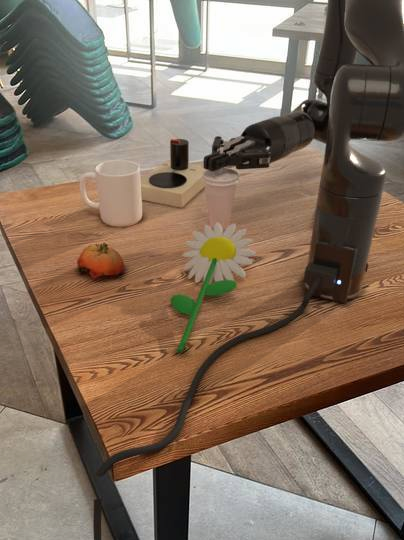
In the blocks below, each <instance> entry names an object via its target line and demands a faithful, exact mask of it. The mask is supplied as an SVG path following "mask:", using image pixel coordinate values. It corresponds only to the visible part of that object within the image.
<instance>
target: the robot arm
mask: <svg viewBox="0 0 404 540" xmlns="http://www.w3.org/2000/svg"><path fill="white" fill-rule="evenodd" d="M358 54H359V55H360V56H361V57H362V58H363V59H365V61H367V63H368V64H359V63H356V61H357V58H358ZM316 60H317V61H316V66H315V70H314V74H313V81H312V82H313V85H314V87H315V88H316V89H317V90H318V91H320V92H321V93H322V94H323V95H324V96H325V99H326V102H324V101H323V100H319V99H316V98H309V99H305V100H303V101H301V103H299V104H298V106H296V107H295V108H294V109H293V110H292V111H291V112H289V113H285V114H283V115H279V116H273V117H270V118H267V119H264V120H260V121H257V122H255V123H252V124H249V125H248V126H246V127H245V129H244V130H243V131H242V132H241V134H240V135H239V136H236V137H232V138H230V139H229V140H224V139H223V137H222V136H219V135H216V136H215V137H214V139H213V141H212V145H211V153H210V154H207V155H204V157H203V165H202V166H203V167H204V169H206V170H209V171H212V172H214V171H216V170H219V169H221V168H228V169H232V168H234V167H235V169H236V170H239V171H240V170H254V169H269V168H270V164H272V163H275V162H277V161H280V160H282V159H284V158H287V157H289V155H291V154H293V153H296V152H298V151H301V150H303V149H304V148H305V149H306V147H308V146H309V145H310V144H311V143H312V142H313V140H315V141H317V142H319V143H322V144H325V146H324V147H325V149H324V155H323V162H322V167H321V173H320V180H319V185H318V192H317V199H316V205H315V211H314V217H313V218H314V219H313V224H312V232H311V238H310V244H309V251H308V259H307V265H306V267H305V269H304V275H303V284H304V287H305V288H306V290H307V292H306V294H305V295H304V297H303V299H302V302H301V304H300V305H299V306H298V307H297V308H296V310H295V311H293V312H292V313H291V314H289V316H287V317H285V318H283V319H280V320H279V321H277V322H274V323H272V324H270V325H268V326H264V327H262V328H258V329H255V330H251V331H248V332H244V333H241V334H239V335H237V336H235V337H233V338H231V339H230V340H228V341H226V342H225V343H223V344H222V345H220V346H218V348H216V349H215V350H213V352H212V353H211V354H210V355H208V356H207V358H206V359H205V360H204V362H203V363H202V364H201V365H200V366H199V368H198V369H197V371H196V373H195V375H194V377H193V379H192V382H191V383H190V385H189V389H188V391H187V393H186V394H185V395H186V396H185V397H184V399H183V401H182V404H181V407H180V409H179V412H178V416H177V418H176V422H175V424H174V426H173V428H172V429H171V431H170V432H168V434H167V435H165V437H163V438H162V439H161V440H159V441H158V442H155V443H152V444H147V445H143V446H136V447H132V448H127V449H124V450H121V451H118V452H116V453H114V454H112V455H111V456H109V457H108V458H107V459H106V460H105V461H104V462H103V463H102V464H101V465H100V466H99V468H98V470H97V471H96V474H95V475H96V476H97V477H99V478H100V477H103V476H105V475H106V473H107V472H108V471H109V469H110V468H112V467H113V466H114V465H115V464H117V463H118V462H120V461H122V460H125V459H128V458H132V457H137V456H142V455H147V454H148V455H149V454H152V453H156V452H158V451H160V450H162V449H164V448H166V447H167V446H169V445H170V444H171V443H172V442H174V440H175V439H176V438H177V437H178V435H179V434H180V432H181V430H182V428H183V427H184V423H185V420H186V418H187V415H188V412H189V409H190V405H191V403H192V401H193V399H194V396H195V394H196V392H197V389H198V387H199V384H200V382H201V379H202V378H203V376H204V374H205V372H206V371H207V370H208V368H209V367H210V366H211V365H212V364H213V363H214V362H215V361H216V360H217V358H218V357H219V356H220V355H223V353H225V352H226V351H228V350H229V349H231V348H232V347H234V346H236V345H237V344H240V343H241V342H243V341H246V340H249V339H253V338H256V337H260V336H263V335H265V334H269V333H271V332H273V331H275V330H277V329H280V328H283V327H284V326H286V325H288V324H290V323H291V322H293V321H294V320H295V319H297V318H298V317H299V316H300V315H301V314H302V313H303V312H304V311H305V309H306V308H307V307H308V305H309V303H310V300H311V298H312V297H315V298H320V299H324V300H328V301H332V302H335V303H336V302H337V303H341V304H346V303H347V301H348V300H353V299H355V298H357V297H358V296H359V295H361V293H362V290H363V282H364V280H365V279H364V278H365V275H366V274H368V269H369V263H368V260H369V256H370V252H371V251H370V250H371V246H372V242H373V237H374V232H375V229H376V223H377V220H378V215H379V210H380V206H381V203H382V197H383V193H384V189H385V185H386V180H387V171H386V169H385V167H384V166H383V165H382V164H381V163H380V162H378V161H377V160H376V159H375V160H374V159H373V158H370V157H369V156H366V155H365V154H362V153H360V152H359V151H358V150H356V149H355V148H353V147H352V145H350V141H351V140H352V141H353V140H354V141H370V142H393V141H397V140H398V141H399V140H400V139H402V138H403V136H404V0H327V4H326V14H325V22H324V27H323V34H322V39H321V44H320V49H319V52H318V57H317V59H316ZM221 147H223V153H222V154H220V148H221ZM365 273H366V274H365ZM102 511H103V499H102V498H96V499H93V520H92V521H93V522H92V523H93V525H92V526H93V527H92V528H93V540H102Z"/></svg>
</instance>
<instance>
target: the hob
mask: <svg viewBox="0 0 404 540" xmlns="http://www.w3.org/2000/svg"><path fill="white" fill-rule="evenodd" d="M203 166H204V165H198V164H193V163H189V167H188V169H186V170H174V169H172V168H171V163H170V159H166V160H165V161H164V162H162V163H161V164H159V165H158V166H157V167H155V168H154V169H152V171H150V172H148V173H147V174H146V175H145V176H143V177H142V178H140V179H141V198H142V201H146V202H151V203H157V204H161V205H166V206H170V207H176V208H181V209H182V208H183V207H184V206H186V204H188V203H189V202H190V201H191V200H192V199H193V198H194V197H195V196H196V195H197V194H198V193H199V192H201V191H202V190H203V189H205V183H204V181H203V180H202V178H203V172H204V171H206V169H204V167H203ZM163 172H173V173H178V174H182V175H184V176H185V177H186V178H187V182H186V183H185V184H184V185H182V186H180V187H176V188H160V187H156V186H153V185H151V184H150V183H149V178H150V177H151V176H152V175H154V174H157V173H163Z"/></svg>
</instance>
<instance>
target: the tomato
mask: <svg viewBox="0 0 404 540" xmlns="http://www.w3.org/2000/svg"><path fill="white" fill-rule="evenodd" d="M76 264H77V269H78V271H79V273H80V274H81V272H82V271H81V270H82V269H83V268H87V269H89V275H90V277H91V278H92V279H95V278H98V277H100V276H113V275H119V274H124V273H125V262H124V259H123V258H122V256H121V254H120V252H118V251H117V250H115V249H114V248H112V247H109V244H108V243H106V242H103V243H96V244H90V245H88V246H86V247H84V249H83V250H82V251H81V253H80V254H79V257H78V258H77V260H76ZM86 272H87V270H85V273H86Z"/></svg>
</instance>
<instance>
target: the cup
mask: <svg viewBox="0 0 404 540" xmlns="http://www.w3.org/2000/svg"><path fill="white" fill-rule="evenodd" d="M94 170H95V172H93V171H87V172H85V173H83V174H82V175H81V177H80V179H79V194H80V197H81V200H82V202H83V203H84V205H86V206H87V207H89V208H91V209H94V210H99V216H100V219H101V221H102V222H103V223H104V224H105V225H107V226H110V227H116V228H123V227H131V226H133V225H136V224H138V223H139V222H140V221H141V220H142V217H143V200H142V198H141V179H142V178H141V166H140V165H139V164H138V163H137V162H134V161H132V160H127V159H112V160H106V161H103V162H101V163H99V164H97V165H96V166H95V168H94ZM87 180H93V181H96V189H97V200H98V202H95V201H91V200H90V199H89V197H88V196H87V192H86V182H87Z"/></svg>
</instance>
